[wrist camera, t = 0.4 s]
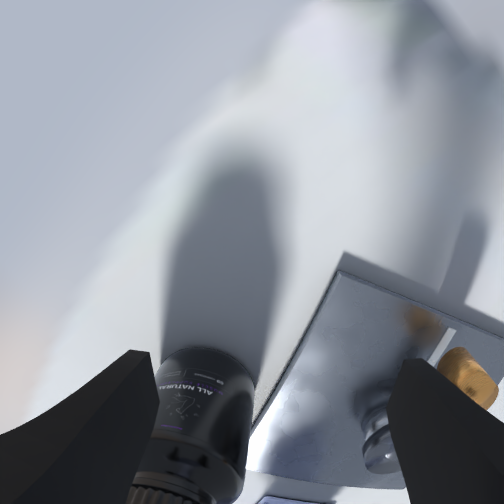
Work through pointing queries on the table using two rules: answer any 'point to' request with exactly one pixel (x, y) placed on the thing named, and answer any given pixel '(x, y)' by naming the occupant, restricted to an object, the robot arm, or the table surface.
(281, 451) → the base
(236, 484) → the supplement bottle
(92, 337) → the table surface
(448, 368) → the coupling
